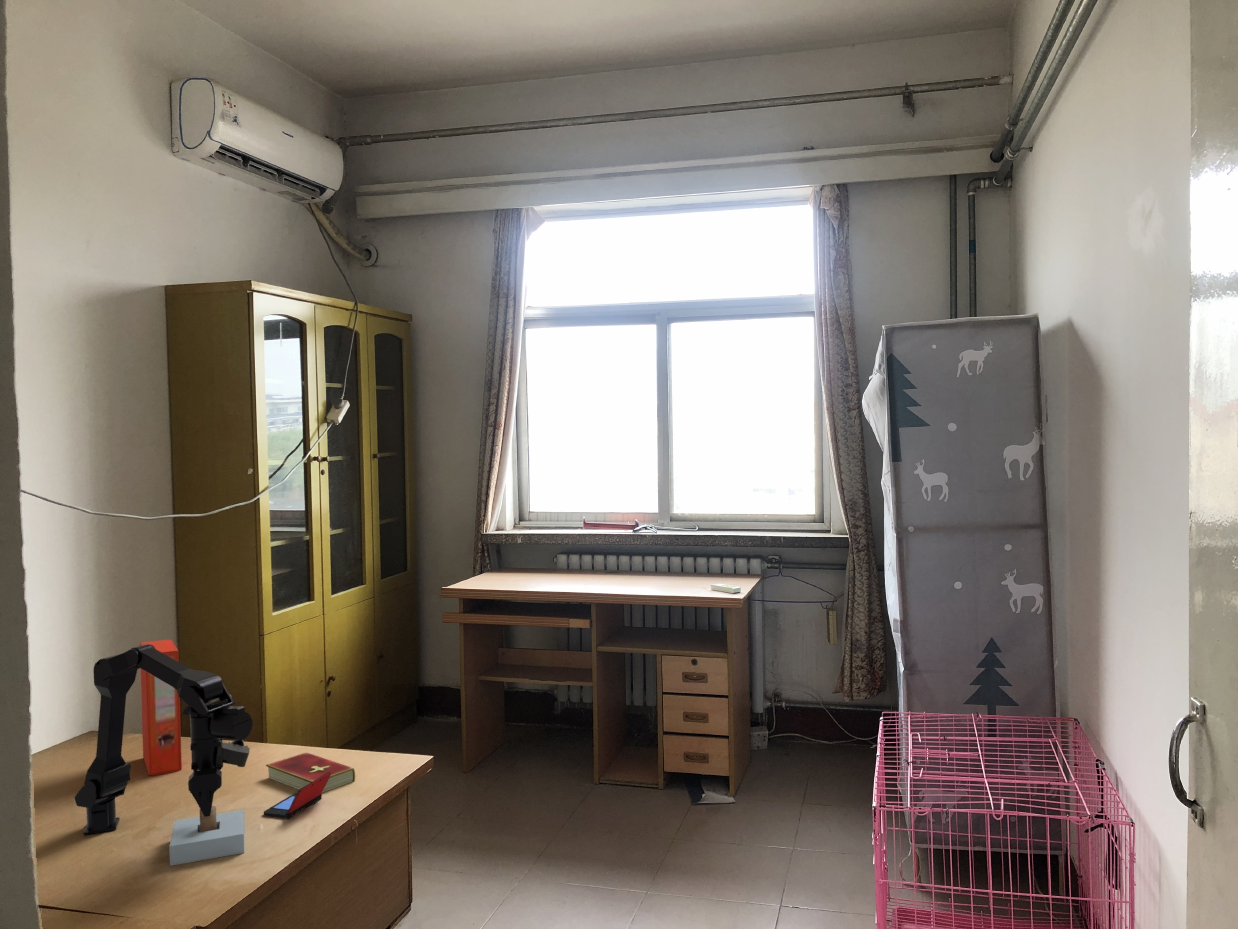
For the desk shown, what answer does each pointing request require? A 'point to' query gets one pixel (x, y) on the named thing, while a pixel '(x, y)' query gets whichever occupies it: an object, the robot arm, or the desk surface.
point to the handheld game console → (299, 799)
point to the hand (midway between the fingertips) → (208, 808)
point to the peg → (208, 821)
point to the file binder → (161, 718)
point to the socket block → (207, 838)
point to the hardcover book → (309, 771)
